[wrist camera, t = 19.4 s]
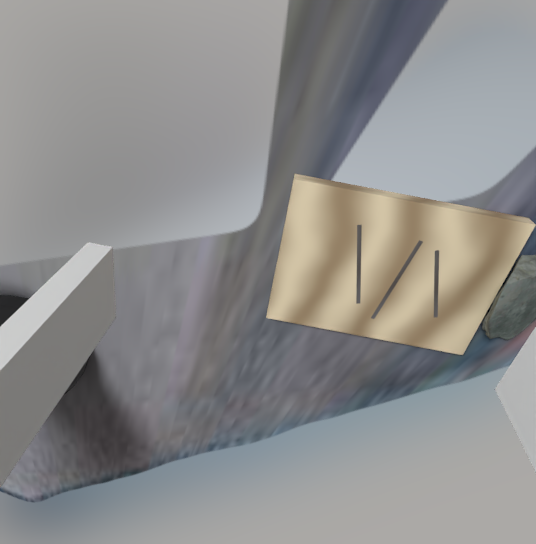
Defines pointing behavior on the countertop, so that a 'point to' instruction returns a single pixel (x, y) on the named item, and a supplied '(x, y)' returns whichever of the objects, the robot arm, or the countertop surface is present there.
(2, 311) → the robot arm
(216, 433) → the countertop surface
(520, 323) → the stone
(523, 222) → the board
